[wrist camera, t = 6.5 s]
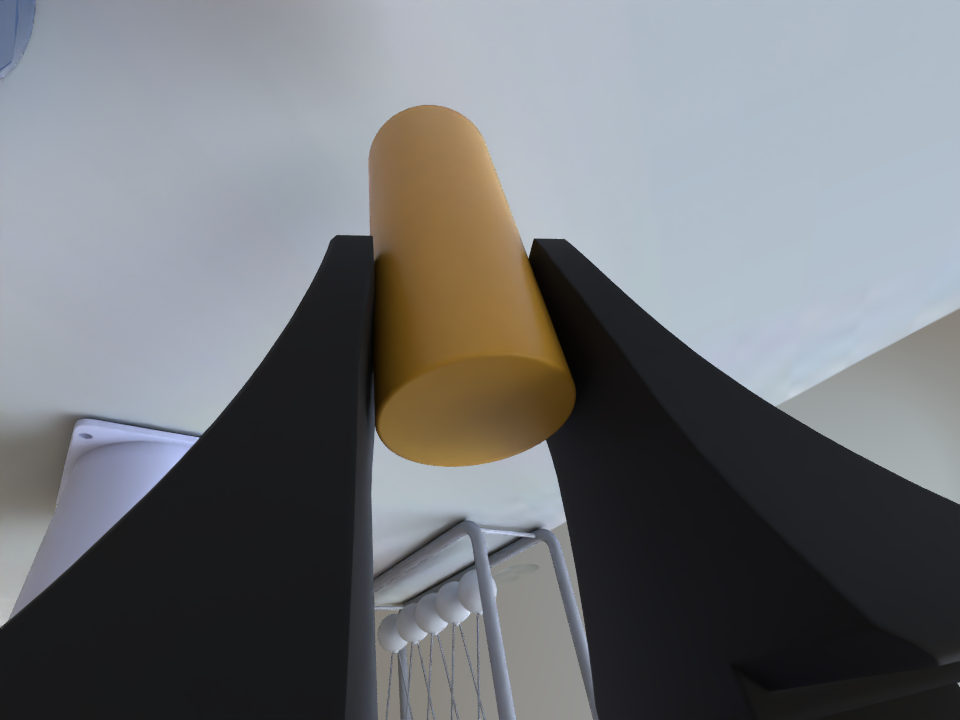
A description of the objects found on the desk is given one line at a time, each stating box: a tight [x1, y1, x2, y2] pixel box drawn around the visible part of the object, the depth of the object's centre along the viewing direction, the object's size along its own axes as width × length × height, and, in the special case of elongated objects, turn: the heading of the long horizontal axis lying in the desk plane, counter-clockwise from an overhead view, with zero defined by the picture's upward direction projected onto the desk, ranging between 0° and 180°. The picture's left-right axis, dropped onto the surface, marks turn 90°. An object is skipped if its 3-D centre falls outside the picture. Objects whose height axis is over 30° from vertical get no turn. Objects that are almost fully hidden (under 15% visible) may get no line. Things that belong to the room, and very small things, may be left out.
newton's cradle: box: [373, 521, 599, 720], centre depth 44 cm, size 30×10×18 cm, turn 142°
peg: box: [369, 105, 576, 467], centre depth 9 cm, size 3×3×8 cm
